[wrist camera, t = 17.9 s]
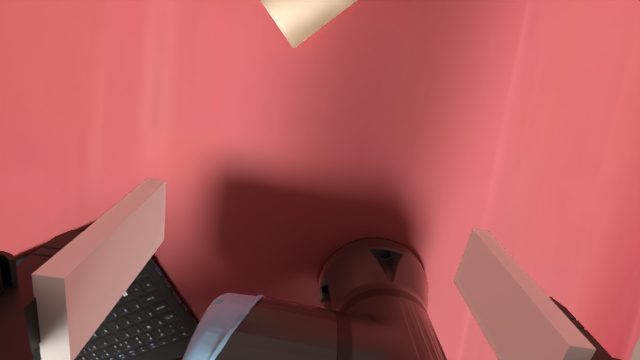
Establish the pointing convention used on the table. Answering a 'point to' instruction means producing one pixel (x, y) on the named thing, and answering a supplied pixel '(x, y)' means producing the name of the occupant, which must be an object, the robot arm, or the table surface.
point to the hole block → (303, 16)
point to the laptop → (140, 323)
